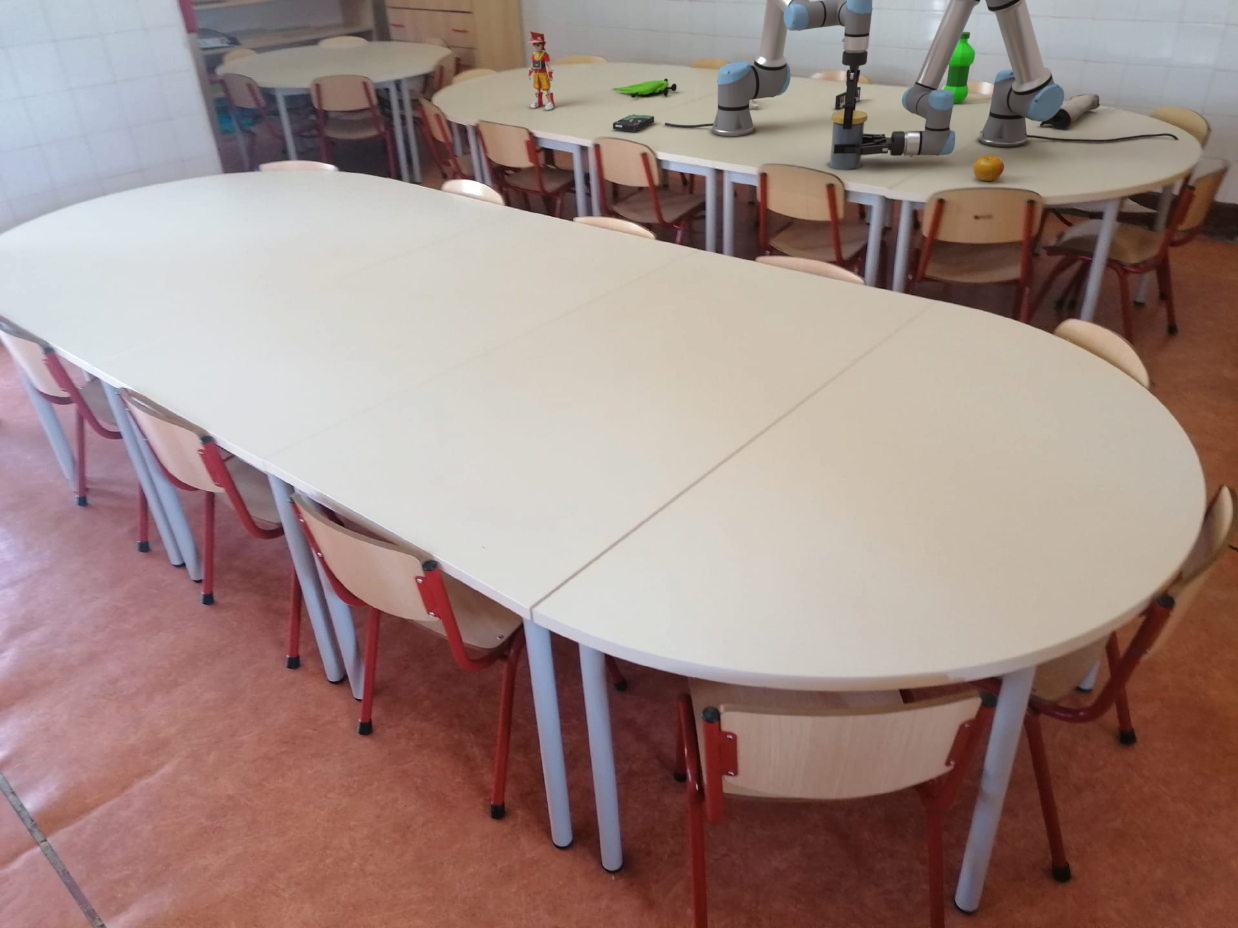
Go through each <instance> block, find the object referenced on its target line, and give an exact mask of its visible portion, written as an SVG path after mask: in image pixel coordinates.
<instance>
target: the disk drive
mask: <svg viewBox="0 0 1238 928" xmlns="http://www.w3.org/2000/svg"><path fill="white" fill-rule="evenodd" d="M654 123H655V116H654V115H647V114H646V115H645V114H629V115H627V116H625V117H623V118H621V119H618V120H617V121H614V122H612V130H616V131H623V132H633V133H635V132H637V131H640V130H643V129H645V128H646V127H649V126H650V125H651V126H652V125H653V124H654Z"/></svg>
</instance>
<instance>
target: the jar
mask: <svg viewBox="0 0 1238 928" xmlns="http://www.w3.org/2000/svg"><path fill="white" fill-rule="evenodd" d="M865 123H866V122H863V123H859V124H852V129H843V124H839V123H835V122H833V121H832V133H831V145H830V147H831V148H830V157H829V166H830V167H831V168H834V169H837V170H853V169H854V170H855V169H857V168H859V167H861V164H862V163H861V161H862V155H860V156H858V155H857V154H855V153H835V154H834V144H855V147H856V143H858V144H859V145H861V144H862V143H863V133H865Z"/></svg>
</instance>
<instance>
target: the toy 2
mask: <svg viewBox="0 0 1238 928" xmlns="http://www.w3.org/2000/svg"><path fill="white" fill-rule="evenodd" d="M669 85H670V83H669V79H668V78H664V79H663V80H649V81H644V82H640V83H634V84H629V85H627V86H621V87H613V88H612V89H613V90H616V91H619V92H623V93H627V94H628V93H629V94H631V95H630V96H631V98H632V99H634V98H636V96H637V95H650V94H652V93H654V94H658V93H662V95H663V96H665V97H667V96H668V95H669V90H671V91H672V92H676V91H677V84H676V83H672V84H671V86H669Z"/></svg>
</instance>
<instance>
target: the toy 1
mask: <svg viewBox="0 0 1238 928" xmlns="http://www.w3.org/2000/svg"><path fill="white" fill-rule="evenodd" d="M529 33H530V35H531V36H528V37H527V38H528V39H529V40H528V41H527V43H529V44H530V43H531V44H532V48H533V50H534V51H533V52H532V55H531V58H530V59H531V63H530V66H528V74H527V75H528V76H527V77H528V79H529V80H531V75H532V74H533V84H532V85H533V86H532V87H533V88H534V89H535V90H536V92H534V95H535V97H536V100H535V101H533V102H531V105H530V108H531V109H535V108H538V107H542V106H544V101H543V100H544V99H543V95H544V92H546V94H545V97H546V99H547V103H546V104H545V106H544V110H546V111H549V110H553V109H554V107H555V106H556V105H555V99H554V92H551V91H550V90H551V86H552V84H551V82H552V81H553V80H554V77H553V73H554V71H555V70H554V69H552V68H551V63H550V61H551V59H550V58H551V57H550V54H549V53H548V52H547V50H546V48H545V46H546V44H547V41H545V35H544V33H543V32H542V33H539V32H535V31H529Z"/></svg>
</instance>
